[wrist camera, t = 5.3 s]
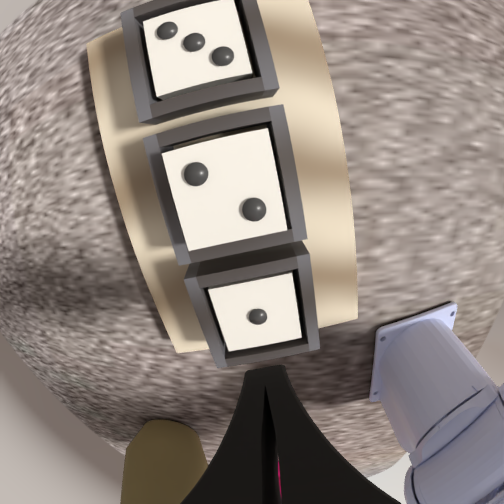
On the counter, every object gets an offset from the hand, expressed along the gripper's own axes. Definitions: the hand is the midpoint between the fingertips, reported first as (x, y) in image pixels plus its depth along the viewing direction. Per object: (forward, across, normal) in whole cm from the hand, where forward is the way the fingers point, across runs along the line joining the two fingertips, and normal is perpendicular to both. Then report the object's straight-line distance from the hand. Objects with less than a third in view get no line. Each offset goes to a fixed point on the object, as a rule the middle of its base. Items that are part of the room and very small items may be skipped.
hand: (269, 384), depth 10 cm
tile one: (+7, 0, 0) cm, 7 cm away
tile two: (+6, 0, -7) cm, 9 cm away
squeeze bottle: (+9, +12, +16) cm, 22 cm away
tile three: (+7, 0, -13) cm, 15 cm away
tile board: (+8, 0, -6) cm, 11 cm away
